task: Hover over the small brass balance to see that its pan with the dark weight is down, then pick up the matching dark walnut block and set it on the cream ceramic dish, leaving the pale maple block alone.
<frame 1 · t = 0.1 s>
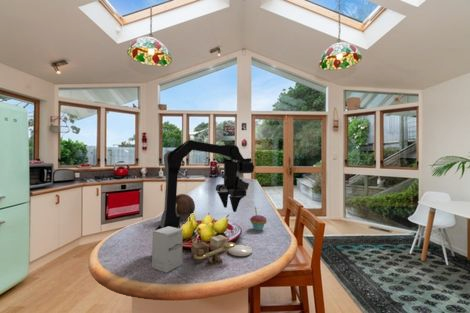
hand: (229, 209, 109), 15 cm above the kitchen island, tool pointing down, fingers open, 9 cm apart
wooden sphere: (181, 220, 146), on the kitchen island
dish: (240, 252, 99), on the kitchen island
maple block: (218, 250, 102), on the kitchen island
supplement box: (167, 267, 86), on the kitchen island
balance: (214, 262, 90), on the kitchen island
walnut block: (199, 257, 94), on the kitchen island
cupcake: (258, 229, 131), on the kitchen island
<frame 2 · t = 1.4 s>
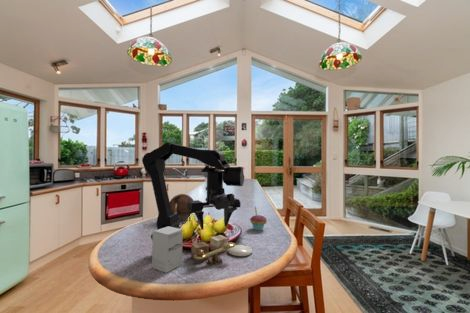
hand: (214, 228, 91), 12 cm above the kitchen island, tool pointing down, fingers open, 9 cm apart
nothing on the kitchen island moved.
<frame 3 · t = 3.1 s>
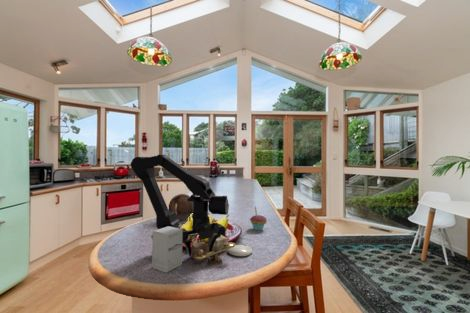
hand: (199, 254, 94), 1 cm above the kitchen island, tool pointing down, fingers open, 7 cm apart
nothing on the kitchen island moved.
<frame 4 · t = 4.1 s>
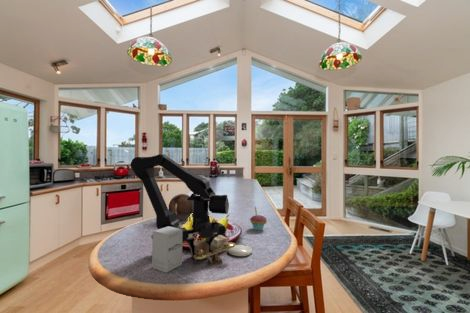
hand: (200, 254, 94), 1 cm above the kitchen island, tool pointing down, fingers closed on walnut block, 5 cm apart
walnut block: (200, 256, 94), on the kitchen island, touching gripper
everything else where it was.
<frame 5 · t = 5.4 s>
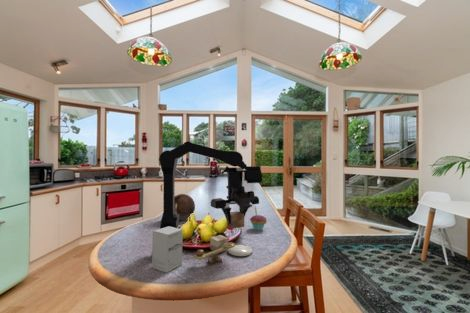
hand: (235, 223, 98), 12 cm above the kitchen island, tool pointing down, fingers closed on walnut block, 5 cm apart
walnut block: (235, 226, 98), point 11 cm above the kitchen island, touching gripper
everything else where it was.
when the fingers open (3 cm above the kitchen island, at t = 7.4 s): walnut block drops 1 cm, resting on dish.
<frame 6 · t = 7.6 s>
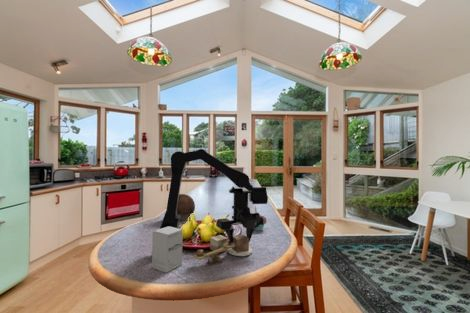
hand: (240, 243, 99), 3 cm above the kitchen island, tool pointing down, fingers open, 7 cm apart
walnut block: (240, 249, 99), point 1 cm above the kitchen island, touching dish
everything else where it was.
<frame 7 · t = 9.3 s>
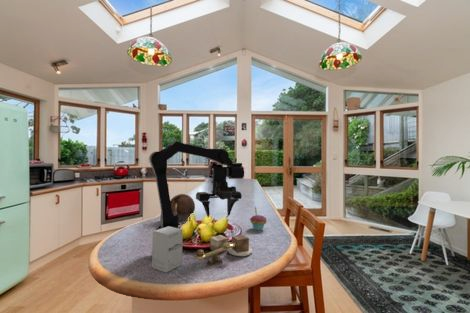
hand: (218, 216, 106), 13 cm above the kitchen island, tool pointing down, fingers open, 9 cm apart
nothing on the kitchen island moved.
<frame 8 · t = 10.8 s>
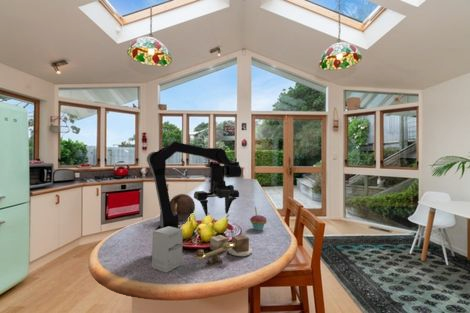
hand: (216, 214, 107), 13 cm above the kitchen island, tool pointing down, fingers open, 9 cm apart
nothing on the kitchen island moved.
at the end: walnut block inside the target area on the dish (0.1 cm from its centre), point 1.1 cm above the dish's base; the gripper is holding nothing; maple block moved 0.1 cm from its start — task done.
